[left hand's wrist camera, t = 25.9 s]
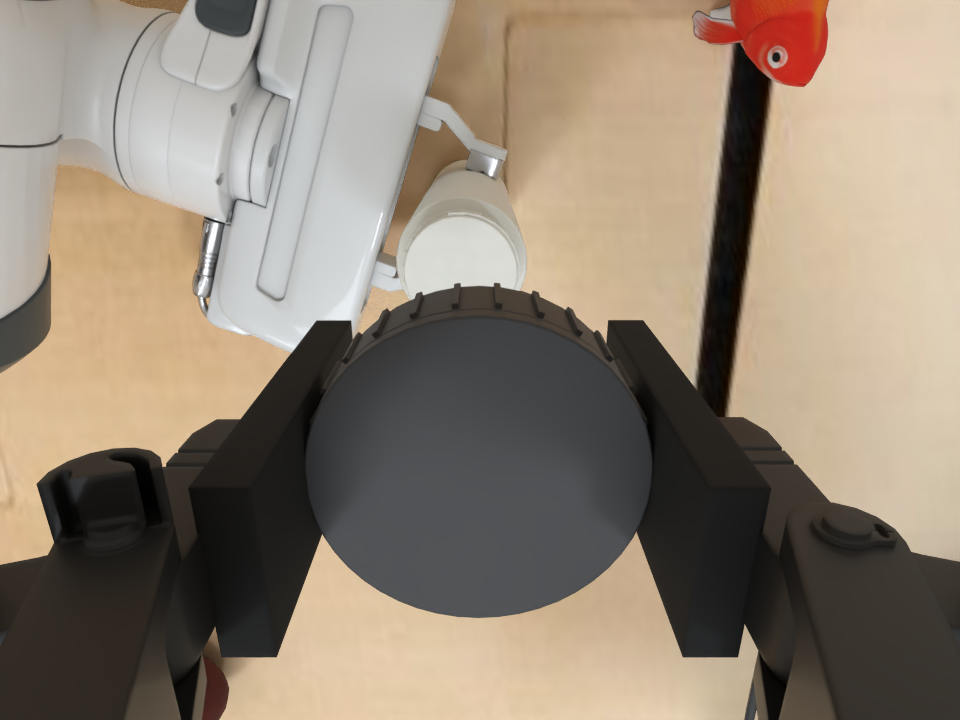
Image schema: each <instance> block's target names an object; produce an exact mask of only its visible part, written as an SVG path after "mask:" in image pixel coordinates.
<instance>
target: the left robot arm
mask: <svg viewBox="0 0 960 720" xmlns="http://www.w3.org/2000/svg"><path fill="white" fill-rule="evenodd" d="M352 340H353V336H352V323H351V320H316V322H315V323H314V324H313V326H312V327H311V328H310V330H309V331H308V332H307V333H306V335H305V336H304V337H303V339H302V340H301V341H300V343H299V344H298V345H297V346H296V348H295V349H294V350H293V352H292V353H291V354H290V356H289V357H288V358H287V359H286V361H285V362H284V363H283V365H282V366H281V367H280V369H279V370H278V371H277V373H276V374H275V375H274V376H273V378H272V379H271V380H270V382H269V383H268V384H267V386H266V387H265V388H264V389H263V391H262V392H261V393H260V395H259V396H258V397H257V399H256V400H255V401H254V403H253V404H252V405H251V406H250V408H249V409H248V410H247V412H246V413H245V414H244V416H243V417H242V418H241V419H217V420H215V421H213V422H212V423H210V424H208V425H206V426H205V427H203V428H201V429H200V430H198V431H196V432H194V433H193V434H192V435H191V436H190V437H189V438H188V439H187V440H186V442H185V443H184V444H183V445H182V446H181V447H180V448H179V450H178V453H175V454H174V455H173V456H172V458H171V459H170V460H169V461H168V462H167V463H166V467H162V463H161V458H160V457H159V456H158V455H156V454H155V453H153V452H152V451H150V450H144V449H139V448H116V449H109V450H104V451H99V452H94V453H90V454H87V455H84V456H81V457H79V458H76V459H73V460H70V461H68V462H66V463H64V464H62V465H60V466H59V467H57V468H55V469H53V470H52V471H50V472H48V473H47V474H46V475H45V476H44V477H43V478H42V479H41V480H40V481H39V482H38V483H37V487H38V490H39V494H40V497H41V500H42V504H43V507H44V510H45V514H46V517H47V520H48V524H49V527H50V530H51V534H52V537H53V540H54V544H53V546H52V548H51V550H50V552H49V554H48V555H47V556H43V557H39V558H33V559H28V560H23V561H18V562H13V563H8V564H3V565H0V720H202V715H203V707H204V699H205V691H206V684H207V678H206V671H205V665H204V660H203V656H202V651H203V649H204V647H205V645H206V643H207V641H208V639H209V637H210V635H211V634H212V632H213V630H214V628H215V627H216V632H217V637H218V642H219V647H220V652H221V657H277V655H278V652H279V649H280V647H281V644H282V641H283V639H284V636H285V633H286V631H287V628H288V625H289V622H290V620H291V617H292V614H293V612H294V609H295V606H296V603H297V601H298V598H299V595H300V593H301V590H302V587H303V584H304V582H305V579H306V576H307V574H308V571H309V568H310V566H311V563H312V560H313V557H314V555H315V552H316V549H317V547H318V544H319V541H320V538H321V536H322V532H321V530H320V528H319V526H318V524H317V522H316V520H315V518H314V515H313V512H312V509H311V506H310V502H309V494H308V486H307V477H306V468H305V448H306V440H307V436H308V433H309V429H310V427H309V422H310V420H311V418H312V416H313V414H314V412H315V411H316V409H317V407H318V405H319V403H320V401H321V400H322V398H323V396H324V395H323V394H321V393H320V391H321V389H322V387H323V386H324V384H325V382H326V380H327V378H328V377H329V375H330V373H331V371H332V370H333V368H334V366H335V364H336V362H337V361H340V362H342V361H341V360H342V358H343V357H344V355H345V353H346V351H347V349H348V348H349V346H350V344H351V342H352ZM606 344H607V346H608V348H609V350H610V352H611V354H612V355H613V357H614V360H616V359H618V358H619V360H620V361H621V363H622V365H623V367H624V369H625V370H626V372H627V374H628V376H629V378H630V379H631V381H632V383H633V385H634V387H635V389H636V391H634V392H633V393H634V395H635V397H636V399H637V401H638V403H639V404H640V406H641V408H642V410H643V412H644V414H645V416H646V417H647V419H648V423H649V425H647V428H648V432H649V435H650V439H651V444H652V453H653V479H652V487H651V492H650V497H649V502H648V505H647V508H646V511H645V513H644V516H643V519H642V521H641V523H640V525H639V527H638V529H637V534H638V537H639V540H640V542H641V545H642V548H643V550H644V553H645V556H646V559H647V561H648V564H649V567H650V569H651V572H652V575H653V577H654V580H655V583H656V586H657V588H658V591H659V594H660V596H661V599H662V602H663V605H664V607H665V610H666V613H667V615H668V618H669V621H670V624H671V626H672V629H673V632H674V634H675V637H676V640H677V642H678V645H679V648H680V651H681V653H682V656H683V657H738V655H739V650H740V645H741V639H742V634H743V629H744V624H745V625H746V627H747V629H748V631H749V633H750V635H751V637H752V639H753V641H754V643H755V645H756V647H757V649H758V656H757V660H756V665H755V670H754V674H753V679H752V684H751V688H750V693H749V698H748V703H747V707H746V714H745V720H754V718H755V713H756V710H757V713H758V720H960V562H957V561H952V560H947V559H942V558H936V557H931V556H926V555H921V554H917V553H913V552H911V551H910V549H909V547H908V545H907V543H906V542H905V540H904V539H903V538H902V537H901V536H900V534H899V533H898V532H897V531H896V530H895V529H894V528H893V527H891V526H890V525H888V524H887V523H885V522H884V521H882V520H881V519H879V518H878V517H876V516H873V515H871V514H869V513H866V512H864V511H861V510H859V509H857V508H853V507H849V506H845V505H841V504H837V503H831V502H830V501H829V500H828V499H827V498H826V497H825V496H824V495H823V493H822V492H821V491H820V490H819V489H818V488H817V487H816V486H815V484H814V483H813V482H812V481H811V480H810V479H809V478H808V477H807V475H806V474H805V473H804V472H803V471H802V470H801V469H800V468H799V466H798V465H794V461H793V460H792V459H791V457H790V456H789V455H788V454H787V453H786V452H785V451H782V447H781V446H780V445H779V444H778V443H777V442H776V441H775V439H774V438H773V437H772V436H771V435H770V434H769V433H768V432H767V431H766V430H764V429H762V428H761V427H759V426H757V425H756V424H754V423H752V422H750V421H749V420H747V419H745V418H743V417H717V416H716V415H715V414H714V412H713V411H712V410H711V408H710V407H709V406H708V404H707V403H706V402H705V400H704V399H703V398H702V397H701V395H700V394H699V393H698V391H697V390H696V389H695V387H694V386H693V385H692V384H691V382H690V381H689V380H688V378H687V377H686V376H685V374H684V373H683V372H682V370H681V369H680V368H679V367H678V365H677V364H676V363H675V361H674V360H673V359H672V357H671V356H670V355H669V354H668V352H667V351H666V350H665V348H664V347H663V346H662V344H661V343H660V342H659V340H658V339H657V338H656V337H655V335H654V334H653V333H652V331H651V330H650V329H649V327H648V326H647V325H646V324H645V322H644V321H643V320H608V331H607V343H606Z"/></svg>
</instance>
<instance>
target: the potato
mask: <svg viewBox="0 0 960 720" xmlns="http://www.w3.org/2000/svg"><path fill="white" fill-rule="evenodd" d="M203 660H204V665H205V671H206V678H207V684H206V691H205V699H204V707H203V715H202V720H219V719H220V717H221V715H222V714H223V712H224V710H225V709H226V704H227V700H228V693H229V687H228V683H227V680H226V678H225V675H224V673H223V672H222V671H221V670H220V669H219V667H218V666H217V665H216V664H215V663H214V662H212V661H210V660H209V659H207V658H205V657H203Z"/></svg>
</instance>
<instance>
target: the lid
mask: <svg viewBox="0 0 960 720" xmlns="http://www.w3.org/2000/svg"><path fill="white" fill-rule="evenodd" d="M341 361H342V362H340V361H337V362H336V364H335V366H334V368H333V370H332V371H331V373H330V375H329V377H328V378H327V380H326V382H325V384H324V386H323V387H322V389H321V391H320V393H321V394H323V395H324V396H323V398H322V400H321V401H320V403H319V405H318V407H317V409H316V411H315V412H314V414H313V416H312V418H311V420H310V422H309V427H310V429H309V433H308V436H307V440H306V448H305V468H306V477H307V486H308V494H309V502H310V506H311V509H312V512H313V515H314V518H315V520H316V522H317V524H318V526H319V528H320V530H321V532H322V534H323V536H324V538H325V539H326V540H327V542H328V543H329V545H330V546H331V548H332V549H333V550H334V552H335V553H336V554H337V555H338V556H339V558H340V559H341V560H342V561H343V562H344V563H345V564H346V565H347V566H348V567H349V568H350V569H351V570H352V571H353V572H354V573H356V574H357V575H358V576H359V577H360V578H361V579H363V580H364V581H365V582H367V583H368V584H370V585H371V586H373V587H374V588H376V589H377V590H379V591H380V592H382V593H384V594H386V595H388V596H390V597H392V598H394V599H396V600H398V601H400V602H403V603H405V604H408V605H410V606H413V607H416V608H419V609H422V610H426V611H430V612H434V613H438V614H444V615H450V616H456V617H472V618H484V617H501V616H507V615H514V614H520V613H524V612H528V611H532V610H535V609H539V608H542V607H544V606H547V605H550V604H552V603H555V602H558V601H560V600H562V599H564V598H566V597H568V596H570V595H572V594H574V593H576V592H577V591H579V590H580V589H582V588H583V587H585V586H586V585H588V584H589V583H591V582H592V581H594V580H595V579H596V578H597V577H598V576H600V575H601V574H602V573H603V572H604V571H606V570H607V569H608V568H609V567H610V566H611V565H612V564H613V562H614V561H615V560H616V559H617V558H618V557H619V556H620V555H621V554H622V552H623V551H624V550H625V548H626V547H627V545H628V544H629V543H630V541H631V540H632V538H633V537H634V535H635V533H636V531H637V529H638V527H639V525H640V523H641V521H642V519H643V516H644V513H645V511H646V508H647V505H648V502H649V497H650V492H651V487H652V479H653V453H652V444H651V439H650V435H649V432H648V428H647V425H649V423H648V419H647V417H646V416H645V414H644V412H643V410H642V408H641V406H640V404H639V403H638V401H637V399H636V397H635V395H634V393H633V392H634V391H636V389H635V387H634V385H633V383H632V381H631V379H630V378H629V376H628V374H627V372H626V370H625V369H624V367H623V365H622V363H621V361H620V360H619V358H618V359H616V360H614V357H613V355H612V354H611V352H610V350H609V348H608V346H607V344H606V342H605V341H604V339H603V337H602V335H601V333H600V332H599V331H598V330H596V331H595V332H593V331H592V330H590V329H589V328H588V327H587V326H586V325H585V324H584V323H583V322H581V321H580V320H579V319H578V318H576V316H575V314H574V311H573V310H572V309H571V308H569V307H567V309H566V310H564V309H563V308H561V307H559V306H557V305H555V304H553V303H551V302H549V301H547V300H545V299H543V298H540V295H539V293H538V292H536V291H533V292H532V294H529V293H526V292H523V291H518V290H513V289H508V288H503V287H501V285H500V283H494V287H491V286H466V287H461V283H456V284H454V288H450V289H445V290H439V291H435V292H432V293H429V294H426V295H423V293H422V292H419V293H416V296H415V299H413V300H410V301H408V302H406V303H404V304H402V305H400V306H398V307H396V308H395V309H393V310H392V311H389V310H388V309H385V310H384V311H382V313H381V315H380V317H379V320H377V321H376V322H375V323H374V324H373V325H372V326H370V327H369V328H368V329H367V330H366V331H365V332H364V333H363V334H361V333H359V332H358V333H357V334H356V335H355V337H354V338H353V340H352V342H351V344H350V346H349V348H348V349H347V351H346V353H345V355H344V357H343V358H342V360H341Z"/></svg>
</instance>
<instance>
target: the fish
mask: <svg viewBox="0 0 960 720" xmlns="http://www.w3.org/2000/svg"><path fill="white" fill-rule="evenodd" d="M828 2H829V0H730V4H729V5H727V6H724V7H721V8H717V9H714V10H712V11H711V12H710V16H708V15H706V14H704V13H703V12H701V11H696V12H695V14H694V15H693V16H692V18H693V22H694V34H695V36H696V37H698V38H699V39H701V40H704V41H707V42H708V43H710V44H720V45H725V44H732V43H739V42H740V43H741V45H742V47H743V48H744V49H745V53H746V54H747V56H748V57H749V58H750V59H751V60H752V61H753V62H754V64H755V65H756V66H757V68H758V69H760V70H761V71H762V72H763V73H764V74H765V75H767V76H768V77H769V78H771V79H772V80H774V81H775V82H777V83H780V84H783V85H789V86H796V87H804V86H805V85H806V84H807V83H809V82H810V80H811V79H812V77H813V75H814V73H815V71H816V70H817V68H818V66H819V64H820V63H821V61H822V59H823V57H824V55H825V52H826V47H827V39H828V25H827V18H826V10H827V6H828Z"/></svg>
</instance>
